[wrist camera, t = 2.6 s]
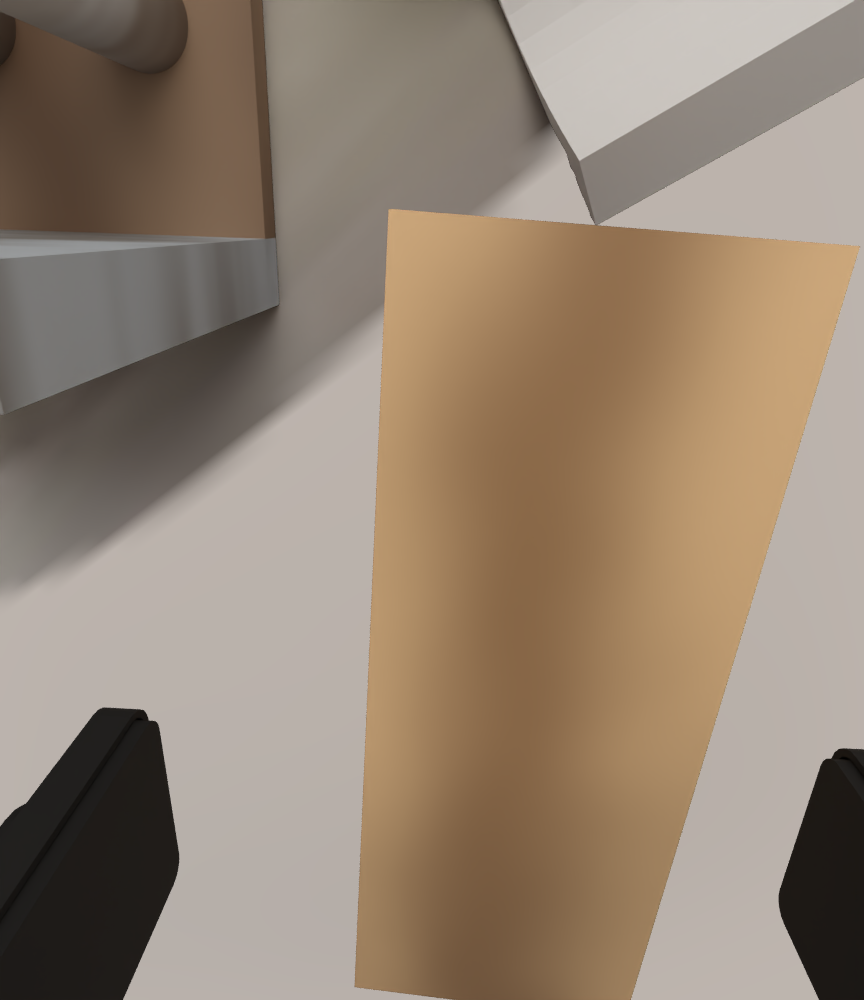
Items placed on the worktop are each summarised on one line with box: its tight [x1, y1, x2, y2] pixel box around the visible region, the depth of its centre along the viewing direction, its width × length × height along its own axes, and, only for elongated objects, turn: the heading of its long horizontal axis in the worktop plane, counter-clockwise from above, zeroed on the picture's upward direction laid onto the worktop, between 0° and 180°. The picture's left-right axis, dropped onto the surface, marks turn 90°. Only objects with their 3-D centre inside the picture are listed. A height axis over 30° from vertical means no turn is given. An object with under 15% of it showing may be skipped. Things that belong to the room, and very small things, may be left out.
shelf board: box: [355, 209, 860, 1000], centre depth 13 cm, size 6×16×3 cm, turn 176°
